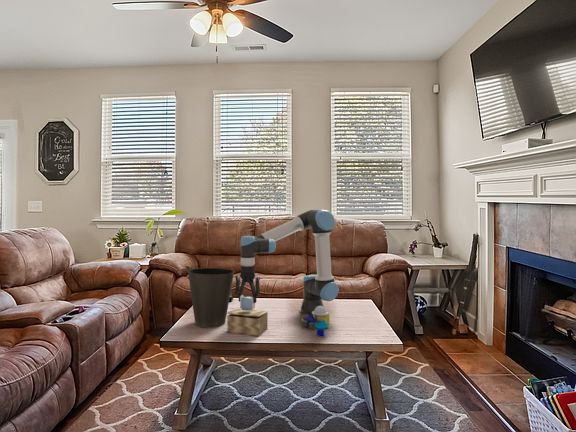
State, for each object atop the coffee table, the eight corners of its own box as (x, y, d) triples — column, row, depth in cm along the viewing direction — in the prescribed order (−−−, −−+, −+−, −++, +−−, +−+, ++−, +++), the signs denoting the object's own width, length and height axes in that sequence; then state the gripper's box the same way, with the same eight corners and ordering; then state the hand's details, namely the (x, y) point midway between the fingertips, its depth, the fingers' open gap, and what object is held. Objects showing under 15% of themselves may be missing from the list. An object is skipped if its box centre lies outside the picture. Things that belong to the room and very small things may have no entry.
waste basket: (239, 319, 215) (239, 268, 214) (227, 331, 195) (226, 275, 194) (197, 316, 221) (196, 267, 220) (180, 327, 201) (180, 273, 200)
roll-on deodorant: (254, 308, 197) (254, 296, 197) (250, 311, 191) (250, 299, 191) (244, 307, 199) (244, 296, 199) (239, 310, 193) (239, 298, 193)
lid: (267, 312, 198) (267, 310, 198) (259, 316, 187) (259, 315, 187) (237, 309, 204) (237, 307, 204) (227, 313, 192) (227, 311, 192)
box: (267, 329, 198) (267, 312, 198) (258, 336, 187) (258, 319, 187) (237, 325, 204) (237, 309, 204) (227, 332, 192) (227, 315, 192)
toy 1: (318, 335, 195) (334, 324, 206) (316, 323, 194) (333, 312, 205) (298, 329, 205) (315, 318, 215) (297, 317, 204) (314, 307, 214)
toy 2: (310, 331, 194) (310, 303, 194) (326, 331, 195) (327, 303, 194) (313, 337, 186) (313, 308, 185) (330, 337, 186) (330, 308, 186)
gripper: (266, 265, 195) (266, 308, 196) (234, 263, 201) (234, 304, 201) (261, 267, 188) (261, 311, 188) (228, 265, 194) (228, 308, 194)
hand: (247, 308), depth 195 cm, fingers closed on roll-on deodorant, 6 cm apart
